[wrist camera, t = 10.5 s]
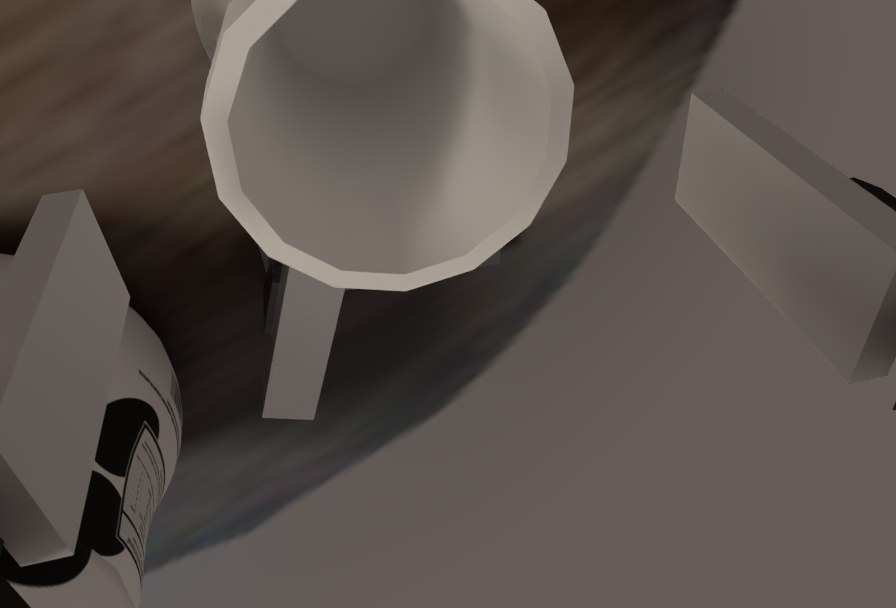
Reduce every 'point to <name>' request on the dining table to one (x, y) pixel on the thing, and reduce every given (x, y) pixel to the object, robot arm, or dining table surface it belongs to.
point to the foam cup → (386, 132)
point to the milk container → (115, 482)
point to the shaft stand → (288, 299)
